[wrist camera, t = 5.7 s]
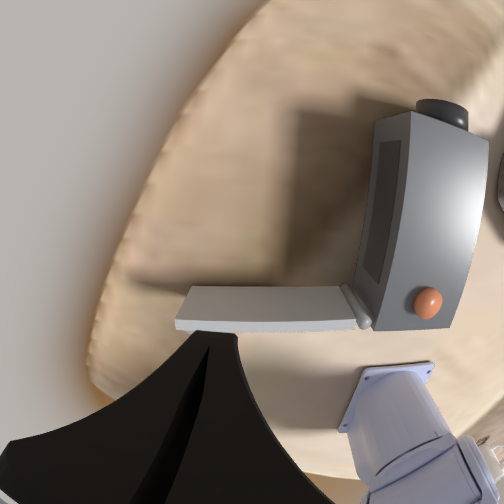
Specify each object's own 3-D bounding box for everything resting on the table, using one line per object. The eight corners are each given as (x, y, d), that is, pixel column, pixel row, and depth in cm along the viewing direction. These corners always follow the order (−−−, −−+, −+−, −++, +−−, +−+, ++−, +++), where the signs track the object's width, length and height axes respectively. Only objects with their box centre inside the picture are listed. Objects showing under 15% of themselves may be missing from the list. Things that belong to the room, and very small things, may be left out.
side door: (350, 283, 19) (372, 317, 14) (348, 299, 19) (368, 335, 15) (192, 284, 19) (174, 318, 15) (194, 300, 20) (177, 336, 15)
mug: (496, 427, 28) (516, 461, 18) (504, 430, 29) (522, 460, 19) (450, 465, 31) (465, 500, 22) (463, 465, 33) (477, 496, 23)
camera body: (417, 295, 19) (453, 332, 14) (350, 292, 19) (376, 337, 14) (445, 120, 15) (495, 115, 10) (374, 98, 15) (415, 79, 10)
